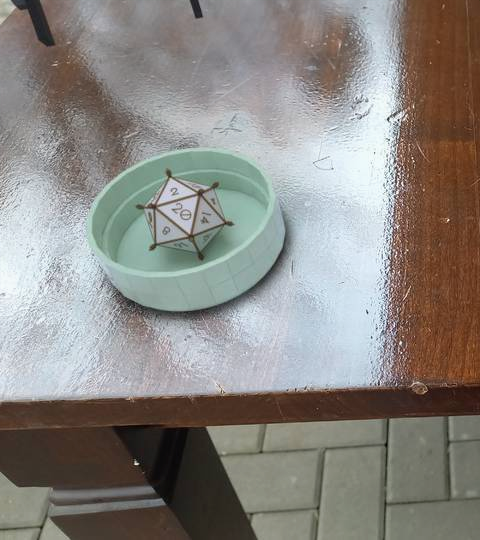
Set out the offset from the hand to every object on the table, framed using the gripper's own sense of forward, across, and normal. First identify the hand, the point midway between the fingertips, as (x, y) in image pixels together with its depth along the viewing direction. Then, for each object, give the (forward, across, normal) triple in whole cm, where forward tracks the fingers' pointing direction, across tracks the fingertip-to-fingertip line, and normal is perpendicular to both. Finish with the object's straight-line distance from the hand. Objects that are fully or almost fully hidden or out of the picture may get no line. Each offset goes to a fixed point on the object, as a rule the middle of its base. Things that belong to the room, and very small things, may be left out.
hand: (125, 28), depth 66 cm
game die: (+21, 0, -5) cm, 22 cm away
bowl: (+22, 0, -5) cm, 22 cm away
